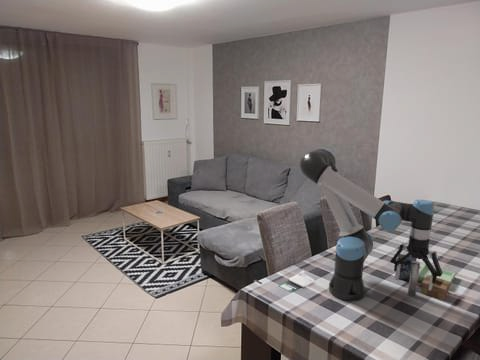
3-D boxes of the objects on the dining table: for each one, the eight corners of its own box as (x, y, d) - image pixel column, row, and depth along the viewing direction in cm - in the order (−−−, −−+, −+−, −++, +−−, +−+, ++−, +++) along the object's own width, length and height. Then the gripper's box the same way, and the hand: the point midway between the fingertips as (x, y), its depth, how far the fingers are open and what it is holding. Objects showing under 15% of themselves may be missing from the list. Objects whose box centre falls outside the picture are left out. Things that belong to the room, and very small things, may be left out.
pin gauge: (414, 297, 148) (419, 265, 144) (406, 294, 150) (410, 262, 147) (416, 294, 150) (421, 262, 147) (408, 291, 152) (413, 260, 149)
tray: (447, 290, 154) (448, 284, 154) (414, 279, 163) (415, 274, 162) (454, 277, 166) (455, 272, 165) (423, 268, 174) (424, 263, 174)
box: (394, 278, 164) (397, 257, 162) (396, 273, 169) (398, 253, 167) (413, 282, 160) (416, 261, 158) (414, 277, 165) (416, 256, 163)
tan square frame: (443, 300, 146) (445, 289, 145) (420, 292, 152) (422, 282, 151) (448, 292, 153) (450, 281, 151) (426, 285, 158) (427, 275, 157)
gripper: (455, 242, 139) (447, 290, 144) (392, 227, 155) (386, 271, 159) (451, 247, 134) (443, 297, 138) (386, 231, 149) (381, 277, 154)
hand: (413, 283), depth 149 cm, fingers open, 12 cm apart
